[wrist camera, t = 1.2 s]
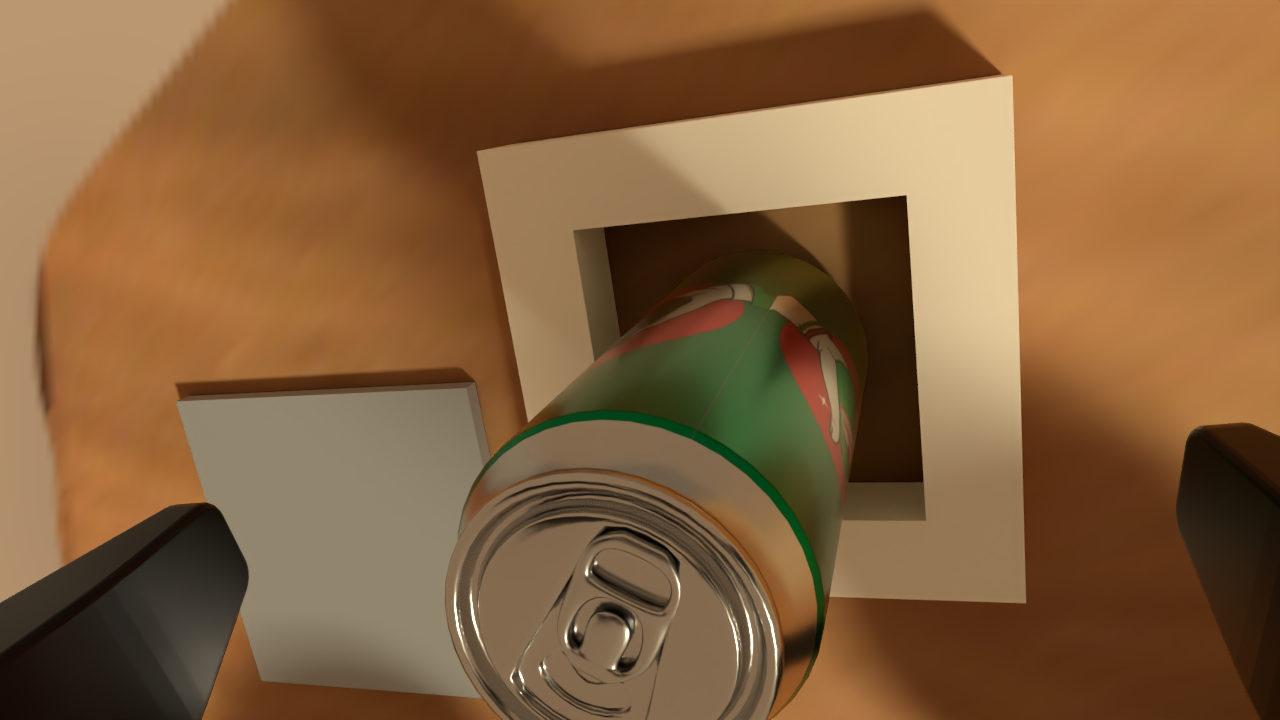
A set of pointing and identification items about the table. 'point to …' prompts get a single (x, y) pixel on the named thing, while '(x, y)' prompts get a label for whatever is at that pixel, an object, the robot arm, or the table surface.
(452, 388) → the grey mat
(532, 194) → the block
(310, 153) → the table surface
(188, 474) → the table surface
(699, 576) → the soda can
